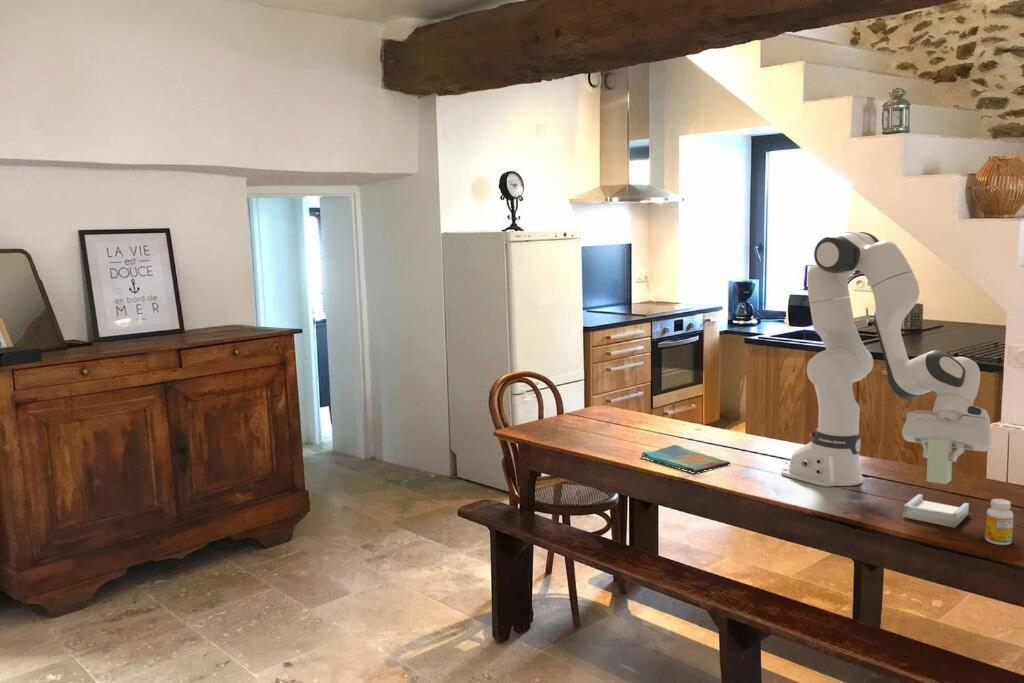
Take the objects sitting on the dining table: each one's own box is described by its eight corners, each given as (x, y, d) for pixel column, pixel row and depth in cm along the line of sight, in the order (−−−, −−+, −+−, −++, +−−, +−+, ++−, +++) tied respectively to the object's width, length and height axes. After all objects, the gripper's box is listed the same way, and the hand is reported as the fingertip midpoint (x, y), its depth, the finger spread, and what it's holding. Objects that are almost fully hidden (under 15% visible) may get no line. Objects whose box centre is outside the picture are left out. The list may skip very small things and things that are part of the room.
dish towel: (676, 450, 279) (676, 443, 278) (731, 466, 260) (731, 458, 259) (639, 459, 269) (639, 451, 268) (693, 476, 250) (694, 468, 249)
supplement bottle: (982, 536, 197) (984, 496, 196) (1008, 538, 195) (1010, 498, 194) (988, 544, 192) (990, 503, 191) (1014, 546, 190) (1017, 505, 189)
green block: (926, 481, 209) (928, 438, 208) (932, 477, 213) (933, 435, 211) (946, 484, 206) (947, 441, 205) (951, 480, 210) (952, 437, 208)
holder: (903, 517, 211) (903, 505, 210) (917, 504, 219) (918, 493, 219) (954, 527, 202) (955, 515, 202) (968, 514, 211) (968, 503, 211)
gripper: (906, 402, 219) (893, 445, 213) (993, 411, 206) (981, 458, 200) (911, 415, 223) (898, 458, 217) (997, 425, 209) (985, 472, 203)
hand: (939, 458), depth 208 cm, fingers closed on green block, 4 cm apart
